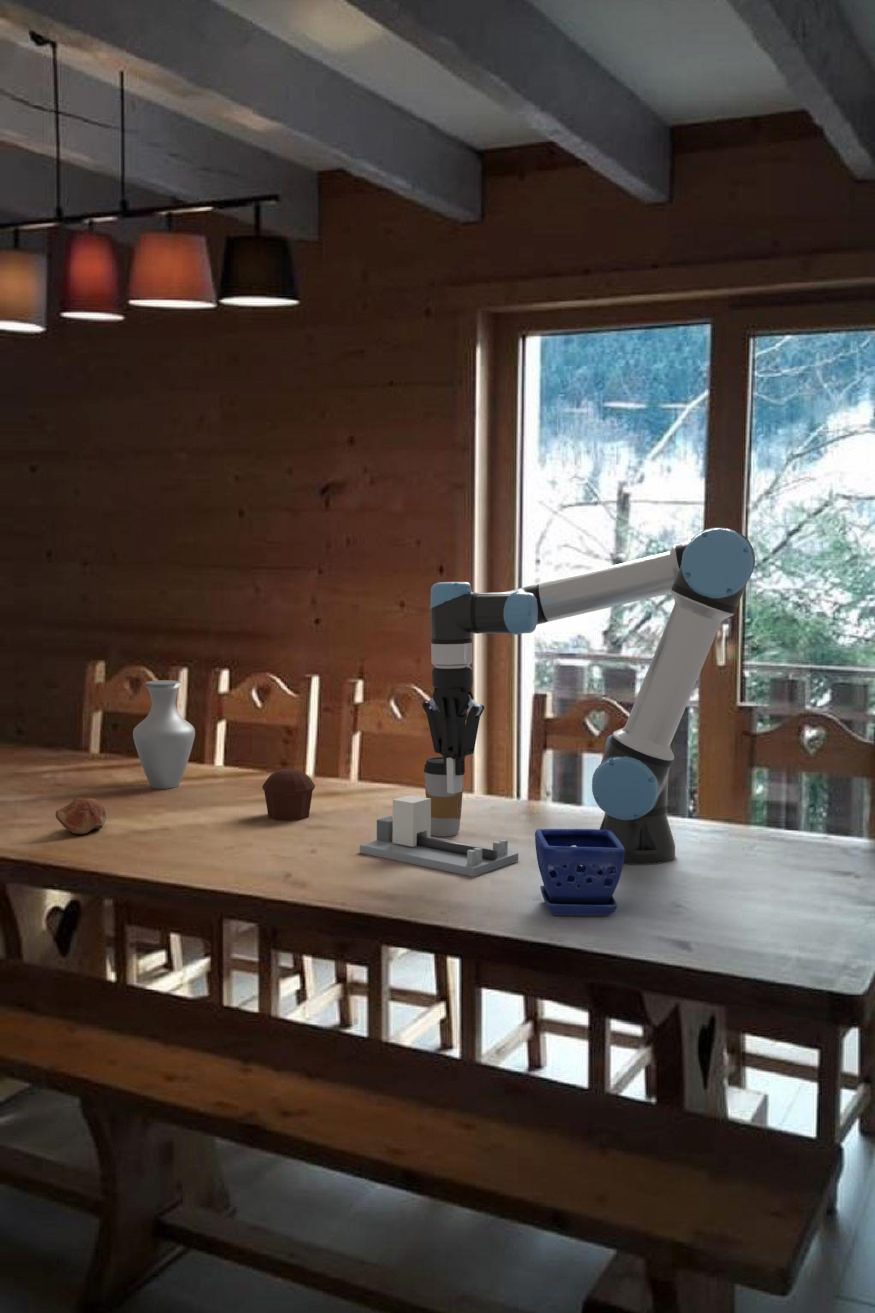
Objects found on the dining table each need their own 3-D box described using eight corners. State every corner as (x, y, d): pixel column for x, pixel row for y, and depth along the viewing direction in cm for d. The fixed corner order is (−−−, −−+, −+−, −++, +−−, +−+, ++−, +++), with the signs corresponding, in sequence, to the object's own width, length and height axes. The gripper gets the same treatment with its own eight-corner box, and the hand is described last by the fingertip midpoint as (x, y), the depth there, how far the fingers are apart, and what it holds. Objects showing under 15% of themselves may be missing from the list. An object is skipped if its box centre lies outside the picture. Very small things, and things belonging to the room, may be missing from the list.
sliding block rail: (518, 861, 243) (518, 832, 243) (473, 876, 232) (473, 846, 232) (406, 839, 260) (406, 811, 259) (359, 852, 249) (359, 824, 248)
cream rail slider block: (430, 841, 250) (430, 798, 249) (412, 846, 246) (413, 803, 245) (410, 837, 253) (410, 795, 252) (392, 842, 249) (392, 799, 248)
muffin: (321, 820, 276) (321, 773, 275) (270, 824, 272) (270, 776, 271) (306, 808, 287) (306, 763, 286) (256, 812, 283) (256, 766, 282)
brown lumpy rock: (60, 824, 255) (64, 777, 260) (38, 837, 260) (42, 791, 265) (116, 838, 263) (119, 793, 268) (94, 851, 268) (97, 805, 273)
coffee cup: (460, 838, 260) (460, 764, 259) (419, 836, 262) (419, 762, 260) (467, 829, 268) (468, 757, 267) (427, 827, 270) (428, 755, 269)
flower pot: (610, 897, 220) (612, 827, 219) (624, 920, 207) (626, 847, 206) (532, 897, 220) (533, 827, 219) (541, 921, 207) (542, 847, 205)
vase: (131, 782, 315) (129, 679, 312) (191, 779, 319) (190, 677, 317) (136, 793, 301) (134, 686, 299) (199, 790, 305) (198, 684, 303)
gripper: (492, 665, 239) (495, 792, 241) (436, 662, 247) (439, 785, 250) (468, 669, 233) (470, 799, 236) (411, 666, 241) (414, 791, 244)
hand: (454, 791), depth 243 cm, fingers closed
